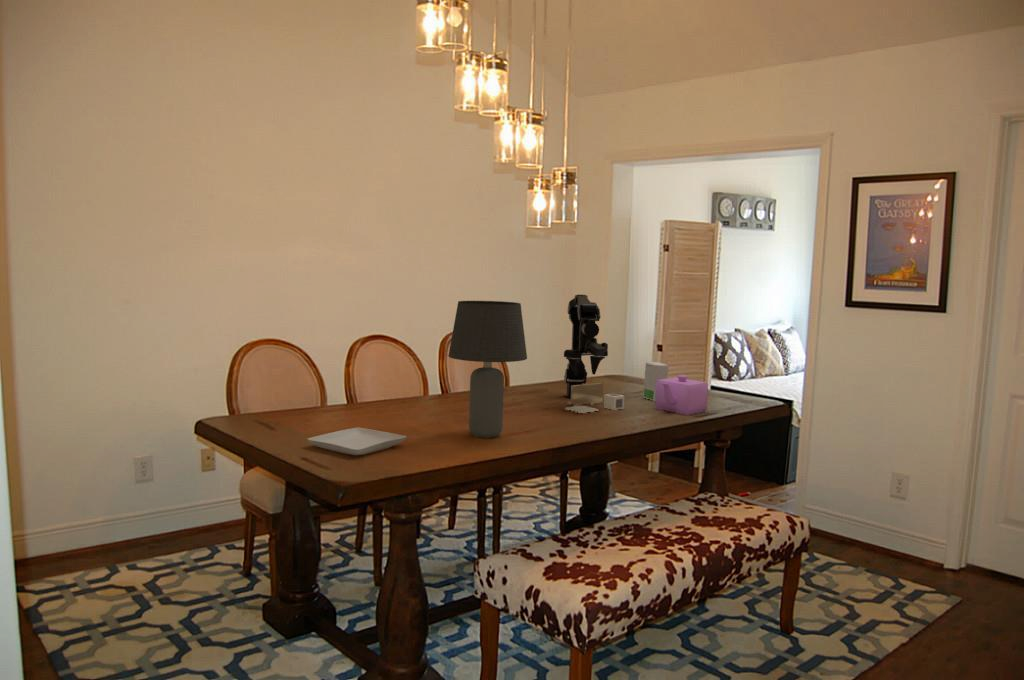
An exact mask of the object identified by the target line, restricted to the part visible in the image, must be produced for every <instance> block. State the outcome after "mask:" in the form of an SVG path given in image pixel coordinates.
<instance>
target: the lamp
mask: <svg viewBox="0 0 1024 680" xmlns="http://www.w3.org/2000/svg"><path fill="white" fill-rule="evenodd" d="M455 311H456V312H455V318H454V323H453V329H452V335H451V339H450V346H449V351H448V355H447V356H448V357H449V358H450V359H454V360H459V361H467V362H477V363H478V362H479V363H483V366H482V367H478V368H475V369H474V370H472V372H471V373H470V377H469V378H470V379H469V380H470V381H469V407H468V409H469V412H468V415H469V416H468V419H469V420H468V430H469V433H470V434H471V435H472V436H474V437H476V438H479V437H480V438H481V439H493V437H494V438H497V437H499V436H500V435H501V433H502V431H503V426H504V424H503V421H504V396H505V395H504V394H505V393H504V391H505V390H504V389H505V375H504V373H503V372H502V371H501V370H500V369H499V368H497V367H493V363H510V362H511V363H514V362H520V361H521V362H522V361H526V360H528V355H527V345H526V339H525V328H524V319H523V312H522V305H521V303H520V302H517V301H516V302H515V301H514V302H513V301H503V300H502V301H501V300H500V301H498V300H459V301H458V302H457V307H456V310H455Z"/></svg>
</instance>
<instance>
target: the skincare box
mask: <svg viewBox="0 0 1024 680" xmlns="http://www.w3.org/2000/svg"><path fill="white" fill-rule="evenodd" d="M644 367H645V370H644V380H643V381H644V382H643V392H642V393H643V394H642V398H643V399H645V398H646V400H648V399H650V400H649V401H651V400H653V401H652V402H655V401H656V381H657V380H661V379H669V377H668V375H669V364H665V363H664V362H663V363H662V362H658V361H650V362H649V361H647V362H645V366H644Z"/></svg>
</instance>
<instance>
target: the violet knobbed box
mask: <svg viewBox="0 0 1024 680" xmlns="http://www.w3.org/2000/svg"><path fill="white" fill-rule="evenodd" d="M708 389H709V382H706V381H700V380H694V379H688V376H687V375H684V374H679V375H677V377H668V378H667V379H661V380H657V381H656V401H654V402H655V405H654V406H655V407H654V409H655V408H656V409H655V410H657V409H661V410H660V411H663V410H666V411H665V412H668V411H670V412H669V413H673V412H675V413H674V414H678V413H680V414H679V415H683V414H685V415H684V416H691V415H690V414H692V415H695V414H694V413H697V414H700V413H699V412H703V411H706V412H707V404H708V391H709V390H708ZM703 413H704V412H703Z"/></svg>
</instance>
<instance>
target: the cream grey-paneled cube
mask: <svg viewBox="0 0 1024 680" xmlns="http://www.w3.org/2000/svg"><path fill="white" fill-rule="evenodd" d="M603 396H604V397H603V409H605V408H608V409H607V410H609V409H611V410H610V411H613V410H615V411H619V410H618V409H623V410H625V409H624V408H625V395H622V394H618V393H608V394H603Z"/></svg>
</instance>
